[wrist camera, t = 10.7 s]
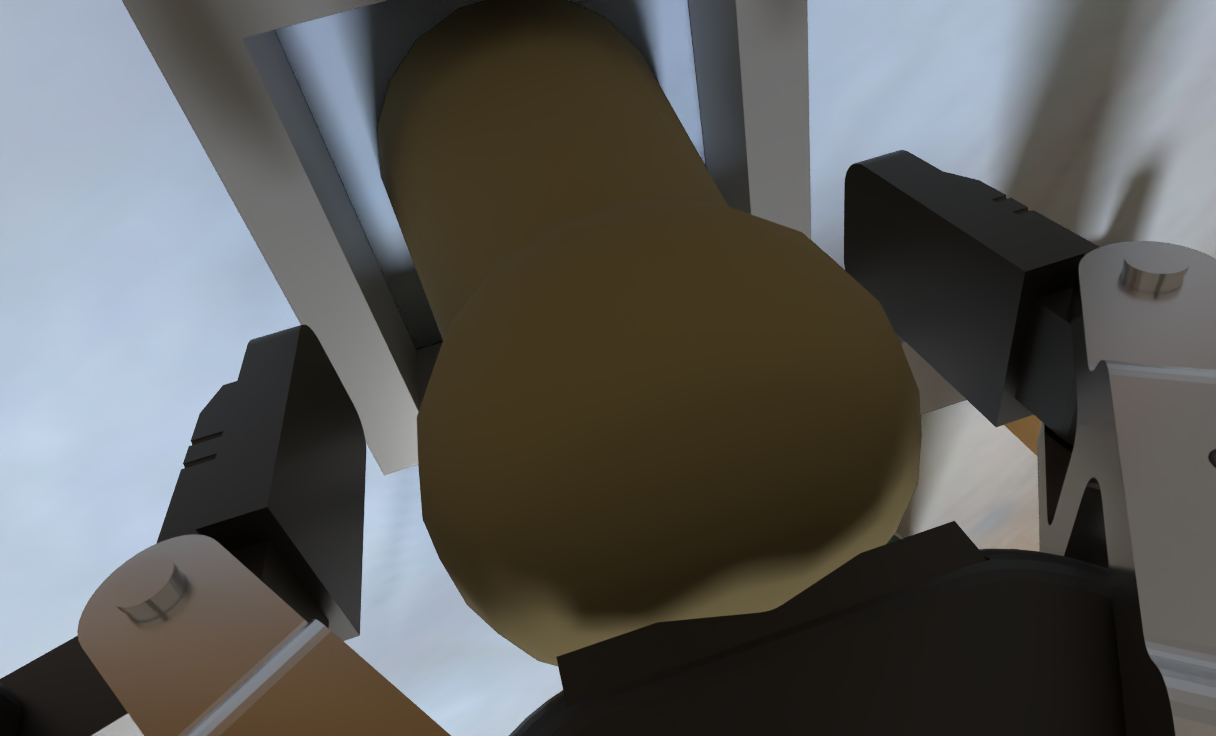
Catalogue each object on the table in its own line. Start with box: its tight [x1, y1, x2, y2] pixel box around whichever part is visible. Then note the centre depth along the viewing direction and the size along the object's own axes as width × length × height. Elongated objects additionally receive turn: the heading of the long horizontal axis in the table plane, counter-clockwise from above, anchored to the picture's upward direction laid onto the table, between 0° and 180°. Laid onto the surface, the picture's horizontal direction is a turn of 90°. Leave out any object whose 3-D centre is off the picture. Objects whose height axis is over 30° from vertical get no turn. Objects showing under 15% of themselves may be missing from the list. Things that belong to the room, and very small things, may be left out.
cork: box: [377, 0, 921, 666], centre depth 11 cm, size 6×6×11 cm
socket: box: [122, 0, 811, 475], centre depth 14 cm, size 10×10×2 cm
